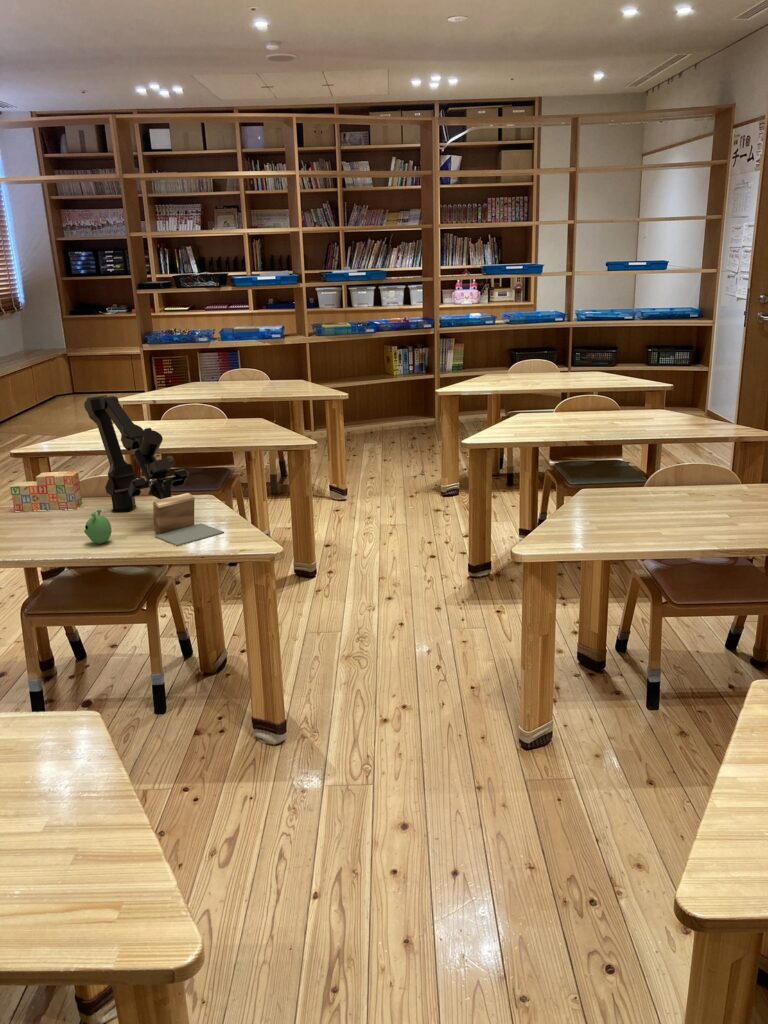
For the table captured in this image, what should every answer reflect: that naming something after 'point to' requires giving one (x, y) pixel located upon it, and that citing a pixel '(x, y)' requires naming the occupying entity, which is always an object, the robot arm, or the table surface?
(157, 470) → the robot arm
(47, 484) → the stack of blocks
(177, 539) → the mat
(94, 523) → the alien toy
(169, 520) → the slab
